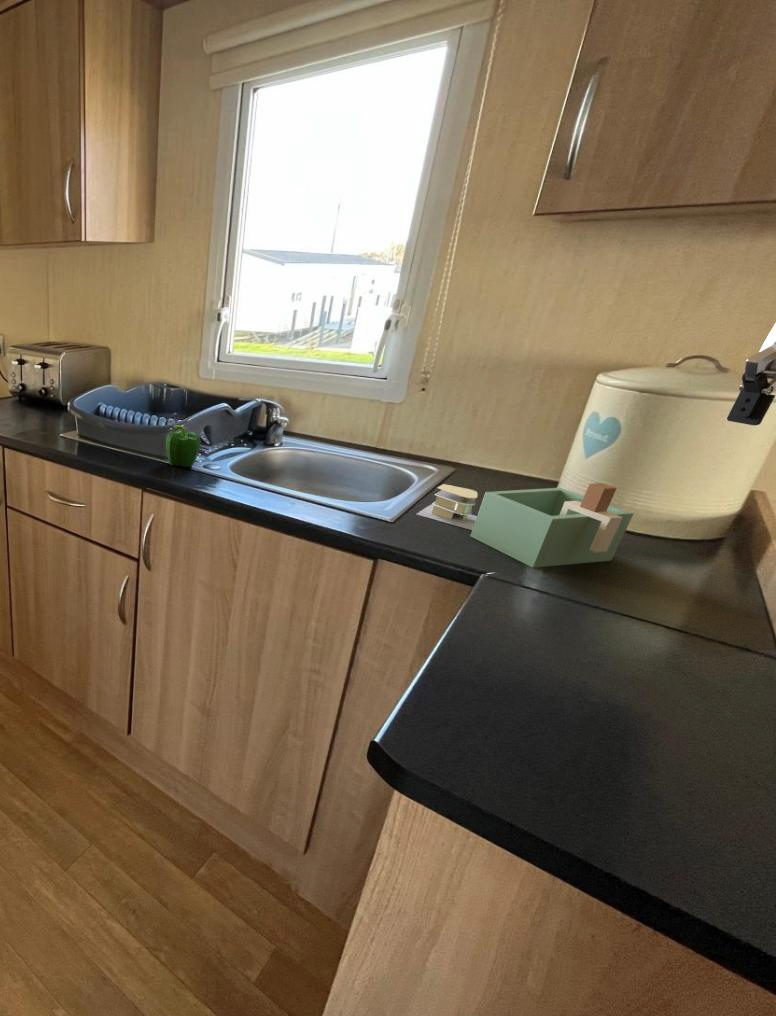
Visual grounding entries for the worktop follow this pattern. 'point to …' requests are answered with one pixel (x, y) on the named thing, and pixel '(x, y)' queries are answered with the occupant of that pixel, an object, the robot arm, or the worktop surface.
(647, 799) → the worktop surface
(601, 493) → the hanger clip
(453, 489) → the stacked layers on plate
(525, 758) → the worktop surface
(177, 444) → the bell pepper
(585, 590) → the worktop surface
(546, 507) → the tote
